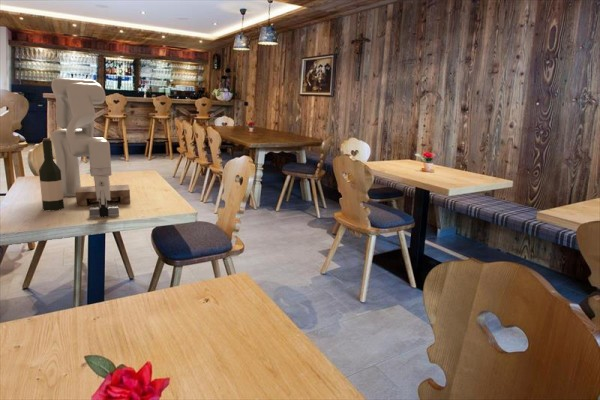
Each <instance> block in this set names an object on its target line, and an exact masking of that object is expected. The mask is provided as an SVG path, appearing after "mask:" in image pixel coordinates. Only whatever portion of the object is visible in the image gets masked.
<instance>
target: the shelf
mask: <svg viewBox="0 0 600 400" xmlns="http://www.w3.org/2000/svg"><path fill="white" fill-rule="evenodd" d="M110 197H111V200H110V201H111V202H118V201H119V200H120V205H130V204H131V193H130V186H129V184H113V185H111V184H110ZM88 202H89V203H97V202H98V201H97V197H96V191H95V185H91V186H90V185H89V186H81V187H77V189H76V196H75V203H76V207H77V208H80V207H88Z"/></svg>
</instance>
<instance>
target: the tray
mask: <svg viewBox="0 0 600 400" xmlns="http://www.w3.org/2000/svg"><path fill="white" fill-rule="evenodd" d="M107 206H108V217H107V218H109V217H119V216H120V208H119V205H118V203H117V204H107ZM99 207H100V205H99V204H98V205H90V206H89V212H88V213H89V218H90V219H95V218H101V217H100V214H99Z"/></svg>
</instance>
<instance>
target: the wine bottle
mask: <svg viewBox="0 0 600 400" xmlns="http://www.w3.org/2000/svg"><path fill="white" fill-rule="evenodd" d="M41 142H42V150H43V162H42V164H41V165H40V168H39V169H38V175H39V183H40V193H41V203H42V209H44V210H43V211H46V210H54V211H60V210H63V209H65V203H64V197H63V191H62V180H61V170H60V169H59V167H58V166H57V163H56V161H54V155H53V154H54V153H53V141H52V139H51V138H48V137H45V138H44V137H43V140H42V141H41ZM59 209H60V210H59Z"/></svg>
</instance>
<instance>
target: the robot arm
mask: <svg viewBox="0 0 600 400" xmlns="http://www.w3.org/2000/svg"><path fill="white" fill-rule="evenodd" d="M51 90H52V92H53V95H54V97H55V122H56V125H57V127H58V129H55V130H54V131H53V132H52V133H51V142H52V146H53V148H54V154H55V163H56V165H57V166H58V167H59V169H60V170H61V180H62V191H63V198H70V197H76V189H77V187H82V186H81V174H80V160H79V158H80V157H81V158H84V157H86V158H87V157H89V159H88V160H89V171H90V177H93V178H94V179H93V182H94V186H95V191H96V197H97V202H98V205H100V207H99V214H100V217H99V218H109V217H108V206H107V205H108V201H109V202H110V201H111V197H110V185H111V184H110V176H112V175H113V174H112V162H111V161H112V159H111V145H110V141H109V140H107V139H106V138H105V137H102V136H101V137H100V136H94V134H95V133H94V132H95V120H96V118H97V113H96V110H95V107H94V105H95V104H96V105H100V104H104V103H105V102H106V92H105V89H104V88H103V85H101V84H100V83H99V82H97V81H96V80H94V79H88V78H83V79H82V78H71V77H70V78H68V77H57V78H53V79H52V81H51ZM59 128H60V129H59Z"/></svg>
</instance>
